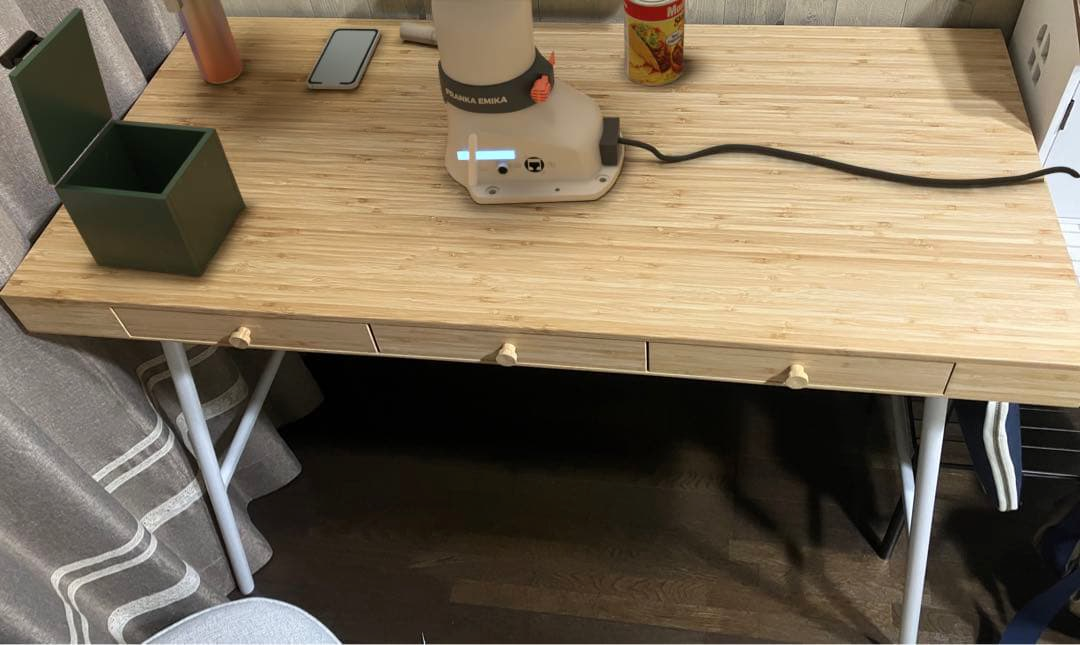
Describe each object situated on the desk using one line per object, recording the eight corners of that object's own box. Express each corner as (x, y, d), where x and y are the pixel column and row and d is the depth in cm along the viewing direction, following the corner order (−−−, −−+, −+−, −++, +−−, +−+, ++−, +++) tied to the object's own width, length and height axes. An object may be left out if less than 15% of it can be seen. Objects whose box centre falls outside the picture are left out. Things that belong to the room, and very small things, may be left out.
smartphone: (381, 28, 148) (355, 85, 138) (383, 33, 149) (356, 91, 139) (333, 27, 150) (303, 84, 139) (335, 33, 150) (305, 90, 140)
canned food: (685, 83, 134) (688, 2, 126) (626, 88, 135) (625, 6, 126) (680, 51, 140) (682, -30, 131) (623, 55, 140) (621, -25, 131)
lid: (81, 8, 107) (40, -1, 108) (15, 76, 99) (-30, 66, 100) (113, 116, 118) (74, 107, 119) (55, 185, 110) (14, 175, 111)
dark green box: (245, 205, 125) (215, 127, 116) (200, 277, 116) (164, 199, 108) (148, 195, 127) (111, 119, 119) (96, 264, 119) (53, 188, 111)
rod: (400, 43, 147) (397, 26, 145) (409, 33, 148) (406, 16, 146) (473, 56, 143) (470, 39, 141) (481, 46, 145) (479, 29, 143)
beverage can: (194, 80, 144) (156, -16, 133) (220, 58, 148) (186, -38, 137) (226, 89, 142) (190, -8, 131) (252, 66, 146) (220, -30, 135)
